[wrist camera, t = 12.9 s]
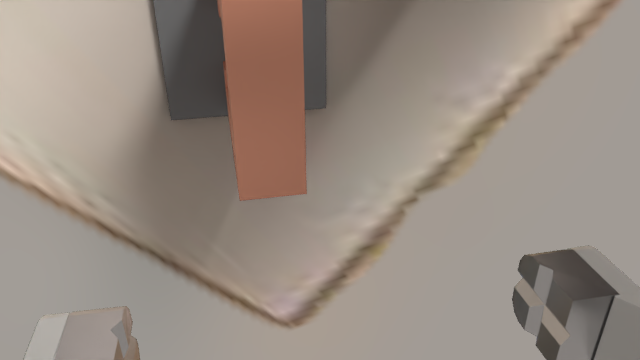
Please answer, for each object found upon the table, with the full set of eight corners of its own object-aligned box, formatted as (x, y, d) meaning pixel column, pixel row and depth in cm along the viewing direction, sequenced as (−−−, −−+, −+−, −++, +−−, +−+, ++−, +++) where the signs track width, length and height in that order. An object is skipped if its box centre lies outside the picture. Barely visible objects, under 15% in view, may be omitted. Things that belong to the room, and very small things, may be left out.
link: (266, -47, 30) (301, -17, 20) (274, 104, 34) (306, 193, 24) (212, -46, 30) (220, -14, 19) (227, 107, 34) (239, 200, 24)
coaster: (323, -58, 31) (325, -57, 31) (324, 105, 36) (326, 107, 35) (146, -54, 29) (145, -53, 29) (171, 116, 34) (171, 120, 34)
